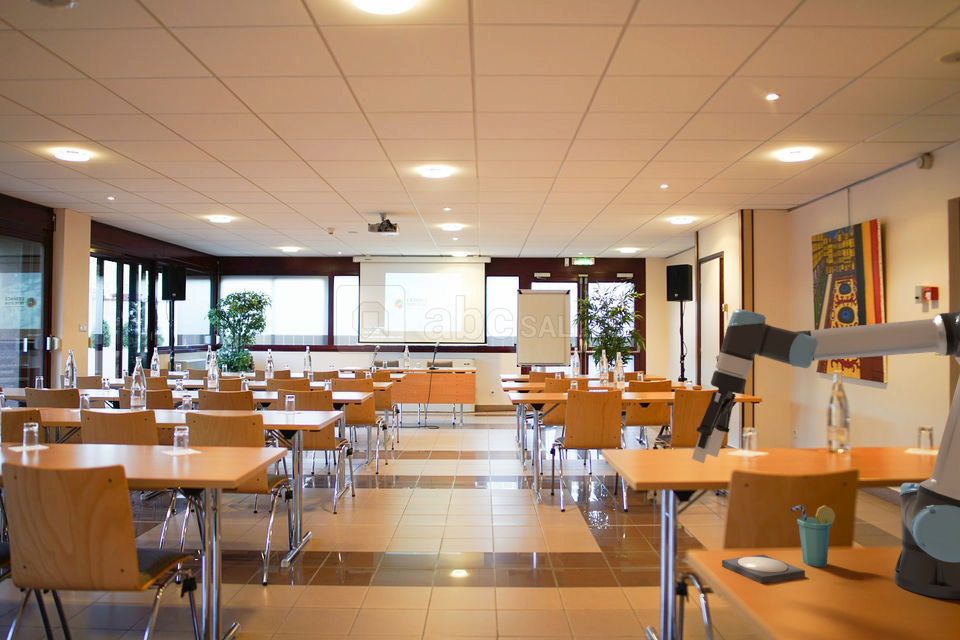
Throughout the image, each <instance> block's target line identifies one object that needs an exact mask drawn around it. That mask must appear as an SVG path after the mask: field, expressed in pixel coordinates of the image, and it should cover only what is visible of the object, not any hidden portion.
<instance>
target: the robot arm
mask: <svg viewBox="0 0 960 640" xmlns="http://www.w3.org/2000/svg"><path fill="white" fill-rule="evenodd" d="M766 318H767V317H766V316H765V315H764V314H761V313H759V312H758V313H757V312H754V311H750V310H746V309H741V308H737V309H735V310H733V311H732V314H731V316H730V320H729V322H728V325H727V326H726V327H727V328H726V331H725V334H724V336H723V341H722V345H721V349H720V353H719V354H718V355H716V357H715V358H716V360H717V362H716V365H715V368H716V369H717V370H715V371H713V374H712V377H711V381H710V385H711V386H713V387H715V388H717V389H718V390H717V392H716V391H713V392H712V395H711V398H710V400H709V404H708V406H707V409H706V411H705V413H704V415H703V418H702V420H701V421H700V425H699V427H697V428H696V432H698V433H699V434H698V437H697V439H696V440H697V441H696V444H695V447H694V450H693V454H692V457H691V460H694V461H696V462H699V463H701V464H704V463H705V462H706V458H707V455H710V456H713V457H715V458H718V456H719V454H720V450H721V447H722V444H723V440H724V437H725V434H726V433H727V434H728V433H729V432H730V428H729V427H730V421H731V416H732V411H733V406H734V402H735V398H736V394H738V395H740V394H741V395H742V394H743V393H744V391H745V387H746V385H747V379H746V378H747V377H749V375H750V371H751V369H752V366H753V363H754V362H753V361H754V357H755V355H756V356H759V357H763V358H767V359H770V360H773V361H777V362H780V363H784V364H787V365H791V366H792V367H798V368H802V369H808V368H810V367H811V365H812V362H815V361H828V360H829V361H830V360H840V359H841V360H842V359H843V360H844V359H854V358H856V359H857V358H869V357H884V356H897V355H913V354H925V353H927V354H928V353H938V354H939V355H940V356H944V357H946V356H954V357H955V358H954V359H955V361H956V362H957V364H958V365H959V366H960V310H957V311H953V312H951V311H949V312H944V313H943V312H942V313H936V315H934V316H933V318H929V319H927V318H925V319H917V320H906V321H905V320H904V321H895V322H885V323H874V324H873V323H872V324H864V325H863V324H862V325H852V326H842V327H831V328H820V329H811V330H802V331H801V330H798V331H792V330H790V329H785V328H780V327H776V326H772V325H770V324H767V323H766ZM935 458H936V459H935V462H934V465H933V469H932V473H931V477H930V478H928V479H926V480H924V481H921V482H919V483H918V482H904V483H902V484H901V485H900V491H899V492H900V493H899V497H900V498H899V499H900V519H901V520H900V521H901V552H900V554H899V556H898V559H897V562H896V565H895V568H894V572H893V578H894V579H893V581H894V583H895V584H896V585H897V586H898V587H901V588H902V589H904V590H906V591H910V592H912V593H915V594H918V595H923V596H928V597H933V598H938V599H939V598H940V599H947V600H960V374H959V375H958V380H957V383H956V387H955V390H954V394H953V398H952V401H951V405H950V408H949V412H948V415H947V419H946V423H945V426H944V430H943V432H942V437H941V441H940V444H939V447H938V451H937V456H936V457H935Z"/></svg>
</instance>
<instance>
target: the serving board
mask: <svg viewBox="0 0 960 640" xmlns="http://www.w3.org/2000/svg"><path fill="white" fill-rule="evenodd" d="M721 567H723V568H724V569H728V570H729V571H732V572H734V573H736V574H740V575H742V576H743V577H746V578H748V579H750V580H752V579H753V580H752V581H755V580H756V581H755V582H757V581H758V582H757V583H759V582H760V584H761V583H763V584H767V583H766V582H769V583H775V582H781V581H782V582H783V581H787V580H794V579H795V580H796V579H800V578H805V577H806V571H805V569H803V568H800V567H797V566H794V565H791V564H790V563H786V562H784V561H781V560H778V559H776V558H774V557H771V556H768V555H765V554H759V555H758V554H757V555H750V556H749V555H748V556H741V557H735V558H734V557H733V558H727V559H722V560H721ZM774 581H775V582H774Z"/></svg>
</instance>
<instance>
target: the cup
mask: <svg viewBox="0 0 960 640" xmlns="http://www.w3.org/2000/svg"><path fill="white" fill-rule="evenodd" d="M798 510H801V511H800V512H801V514H802V516H801V517H799V518H798V519H796V522H797V525H798V529H799V530H798V531H799V538H800V547H801V553H802V556H801V557H802V561H803V564H805V565H807V566H810V567H816V568H823V567H827V566H828V554H829V553H828V552H829V539H830V528H831V527H832V525H833V524H834V523H835V519H836V513H835V511H834V509H833V508H832V507H830V506H827V505H822V506H820V507H818V508H817V509H816V512H815V517H814V516H807V513H806V508H805V506H803V505H801V504H800V505H797V506H794V507H792V508H791V509H790V511H791V512H796V511H798Z"/></svg>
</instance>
